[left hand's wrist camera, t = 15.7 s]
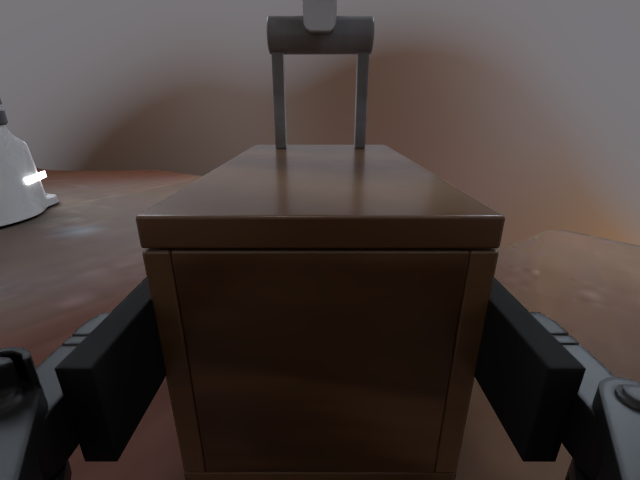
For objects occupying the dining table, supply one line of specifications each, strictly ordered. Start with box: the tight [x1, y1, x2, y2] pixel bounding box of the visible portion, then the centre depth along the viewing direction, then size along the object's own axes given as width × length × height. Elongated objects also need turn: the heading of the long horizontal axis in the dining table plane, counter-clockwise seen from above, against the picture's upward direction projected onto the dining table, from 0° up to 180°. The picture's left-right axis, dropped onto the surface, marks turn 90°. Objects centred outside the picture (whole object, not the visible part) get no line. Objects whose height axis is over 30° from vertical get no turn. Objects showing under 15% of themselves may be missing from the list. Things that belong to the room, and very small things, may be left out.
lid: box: [136, 16, 505, 248], centre depth 16 cm, size 18×10×9 cm, turn 0°
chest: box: [143, 248, 498, 480], centre depth 19 cm, size 18×10×9 cm, turn 0°
